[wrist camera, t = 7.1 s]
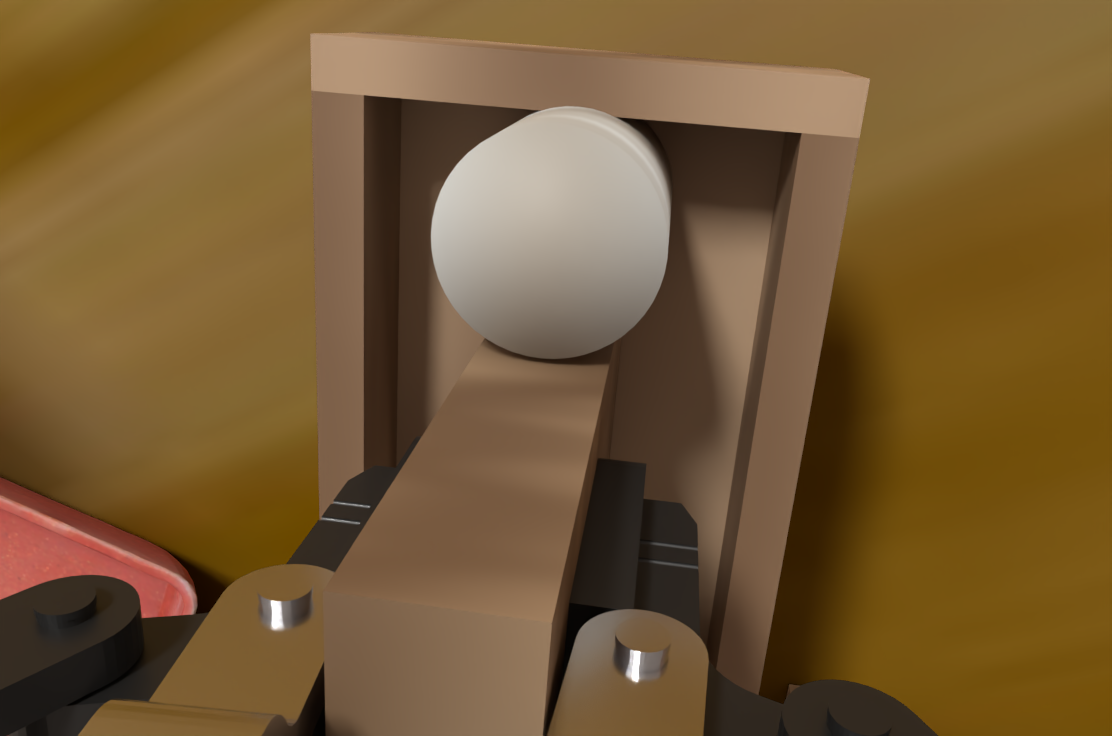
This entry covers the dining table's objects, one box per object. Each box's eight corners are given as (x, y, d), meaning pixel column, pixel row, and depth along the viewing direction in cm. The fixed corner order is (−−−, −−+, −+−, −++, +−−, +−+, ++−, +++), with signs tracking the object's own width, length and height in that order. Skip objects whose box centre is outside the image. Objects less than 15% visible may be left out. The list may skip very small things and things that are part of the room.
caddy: (837, 69, 16) (1120, 151, 6) (737, 660, 20) (793, 1329, 10) (373, 32, 17) (-135, 42, 6) (371, 609, 21) (64, 1180, 10)
